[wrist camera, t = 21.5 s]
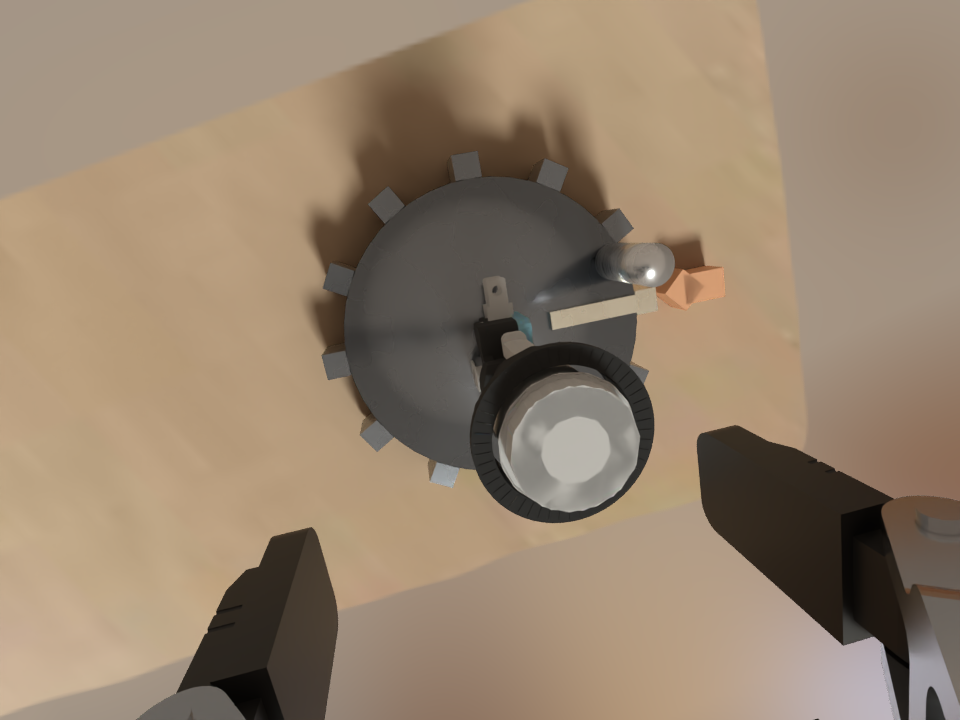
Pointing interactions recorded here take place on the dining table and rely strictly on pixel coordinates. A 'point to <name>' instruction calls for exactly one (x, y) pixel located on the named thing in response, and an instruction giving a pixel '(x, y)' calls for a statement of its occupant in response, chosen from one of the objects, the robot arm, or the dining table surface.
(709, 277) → the pointer block
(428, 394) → the sprocket wheel
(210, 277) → the dining table surface
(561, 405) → the push button
